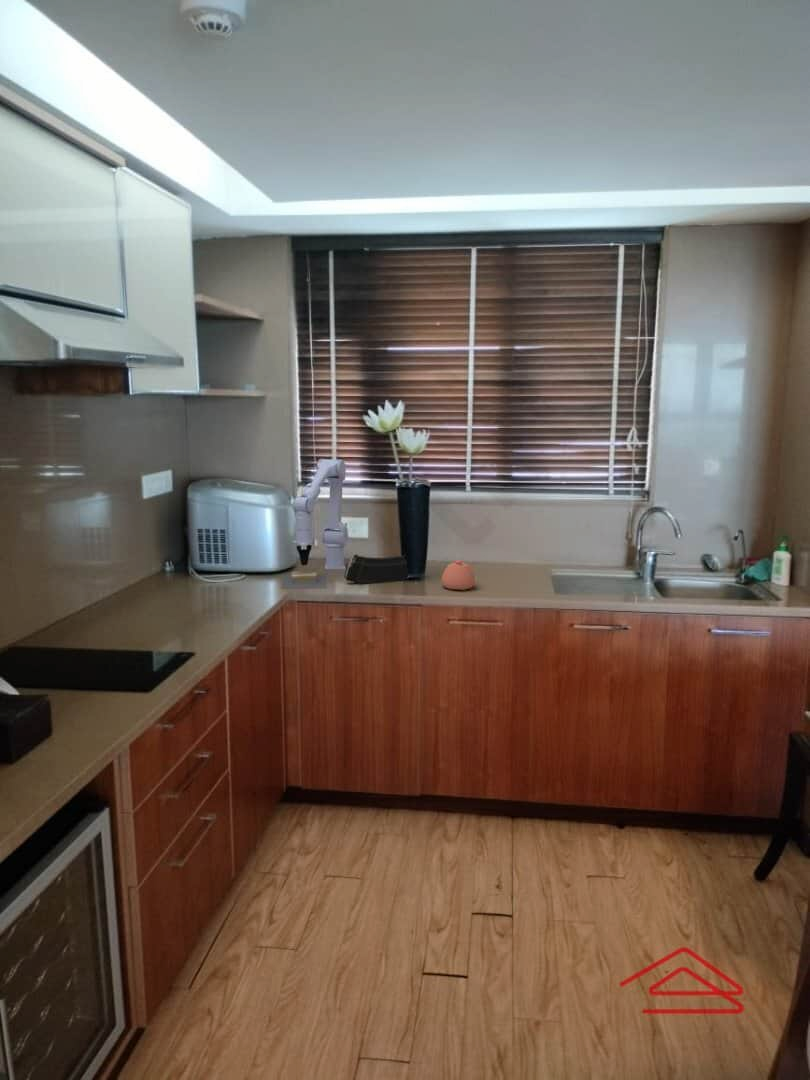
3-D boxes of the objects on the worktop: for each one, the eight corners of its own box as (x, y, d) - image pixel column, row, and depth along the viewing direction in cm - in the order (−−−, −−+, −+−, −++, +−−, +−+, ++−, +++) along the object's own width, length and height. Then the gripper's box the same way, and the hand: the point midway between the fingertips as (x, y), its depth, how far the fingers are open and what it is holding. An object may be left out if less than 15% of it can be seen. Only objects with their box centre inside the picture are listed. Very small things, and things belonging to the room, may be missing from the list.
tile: (292, 572, 280) (291, 576, 273) (316, 571, 281) (316, 575, 274) (292, 578, 281) (291, 582, 274) (316, 578, 282) (316, 582, 275)
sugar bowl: (437, 590, 267) (437, 562, 265) (447, 582, 280) (448, 555, 278) (470, 593, 263) (471, 565, 261) (479, 584, 276) (480, 557, 274)
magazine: (423, 553, 287) (354, 536, 273) (427, 555, 284) (358, 537, 270) (411, 596, 288) (342, 581, 274) (415, 598, 285) (345, 583, 271)
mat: (283, 575, 286) (283, 575, 286) (325, 575, 288) (325, 574, 288) (281, 589, 265) (281, 588, 265) (326, 588, 267) (326, 588, 267)
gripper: (293, 526, 283) (294, 561, 286) (292, 532, 269) (293, 569, 272) (312, 525, 284) (312, 560, 287) (312, 532, 270) (312, 568, 272)
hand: (304, 564), depth 279 cm, fingers closed
